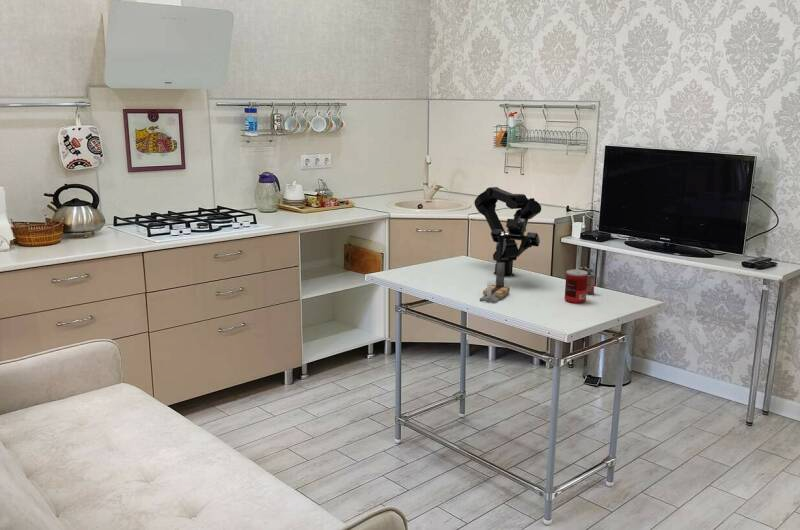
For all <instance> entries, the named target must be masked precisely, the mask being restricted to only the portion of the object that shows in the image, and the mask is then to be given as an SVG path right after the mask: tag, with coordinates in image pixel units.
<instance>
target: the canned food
mask: <svg viewBox="0 0 800 530" xmlns="http://www.w3.org/2000/svg"><path fill="white" fill-rule="evenodd" d="M588 273H589V272H586V271H584V270H579V269H569V270H568V269H567V270H566V273H565V283H564V284H565V285H564V286H565V288H564V301H565V302H567V303H570V304H577V305H578V304H579V305H580V304H584V303H585V302H586V300H587V295H586V293H587V280H588Z"/></svg>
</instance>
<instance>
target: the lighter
mask: <svg viewBox="0 0 800 530" xmlns="http://www.w3.org/2000/svg"><path fill="white" fill-rule="evenodd" d="M578 270H584V271H586V272H588V280H587V293H586V296H594V295H595V284H596V283H595V282H596V276H597V275H596V274H594V273H595V269H594V268H588V267H586V266H584V267H582V266H580V267H578Z"/></svg>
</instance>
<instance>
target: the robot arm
mask: <svg viewBox="0 0 800 530" xmlns="http://www.w3.org/2000/svg"><path fill="white" fill-rule="evenodd" d="M499 201H500V202H503V203H505V206H506V207H507V208H508V209H510V210H516V211H515V213H514V214H513V218H507V220H506V226H505V227H506V228H507V232H508V233H506V230H505V229H504V227H503V224H502V223H501V220H500V219H499V216H498V213H497V212H496V208H497V207H496V206H497V202H499ZM473 204H474V207H475V208H476V210H477V211H478V213H480V215H482V216H484V218H485V220H486V222H487V224H488V226H489V229H490V230H491V232H490V236H491V238H492V241H493V242H495V243H496V245H495V249H496V250H495V252H494V253H493V254H492V258H493V259H492V260H493V261H495V265H494V266H495V267H494V272H493V274H495V275H496V270H497V263H499V262H501V263H505V270H504V277H509V275H512V276H514V275H515V273H513V270H514V269H513V267H514V264H513V263H514V261H517V258H518V257H520V256H521V255H522V254H523V253H524V252H525V251H526V250H527V249H529V248H532V247H539V246H540V242H541V240H540V236H539V234H538V232H531V231H530V232H527V226H528V222H529V220H532V219H533V218H535V217H536V216H537V215H539V214H540V213H541V211H542V206H541V204H540V203H539V201H537V200H535V198H534V197H530V198H528V197H527V196H526V194H524V193H512V192H508V190H507V191H506V190H504V189H501V188H499V187H497V186H492V187H491V186H490V187H488V188H486V189H485V191H483V192H481V193H480V194H478V196H476V198H475V200H474V202H473ZM525 232H527V233H526V235H525ZM516 241H520V245H519V248H518V243H517V242H516Z"/></svg>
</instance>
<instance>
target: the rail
mask: <svg viewBox="0 0 800 530" xmlns="http://www.w3.org/2000/svg"><path fill="white" fill-rule="evenodd" d="M486 283H487V286H486V288H487V295H482V297H480V298H479V302H482V301H486V302H485V303H489V302H492V303H491V304H497V303H498V302H499V301H500V299H501V300H502V299H503V298H505V297H506V296H508V295H509V294H510V291H509V292H507V293H506V294H505V295H503V296H502V297H496V296H495V292H496V291H495V292H493V293H492V294H491V290H492V283H493V282H492V281H491V282H490V281H489V282H486ZM507 294H508V295H507Z"/></svg>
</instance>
